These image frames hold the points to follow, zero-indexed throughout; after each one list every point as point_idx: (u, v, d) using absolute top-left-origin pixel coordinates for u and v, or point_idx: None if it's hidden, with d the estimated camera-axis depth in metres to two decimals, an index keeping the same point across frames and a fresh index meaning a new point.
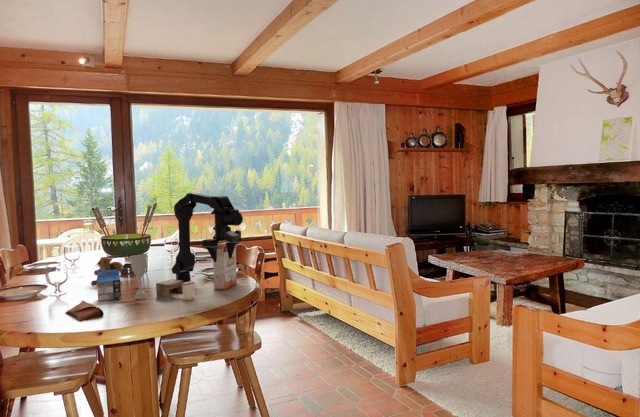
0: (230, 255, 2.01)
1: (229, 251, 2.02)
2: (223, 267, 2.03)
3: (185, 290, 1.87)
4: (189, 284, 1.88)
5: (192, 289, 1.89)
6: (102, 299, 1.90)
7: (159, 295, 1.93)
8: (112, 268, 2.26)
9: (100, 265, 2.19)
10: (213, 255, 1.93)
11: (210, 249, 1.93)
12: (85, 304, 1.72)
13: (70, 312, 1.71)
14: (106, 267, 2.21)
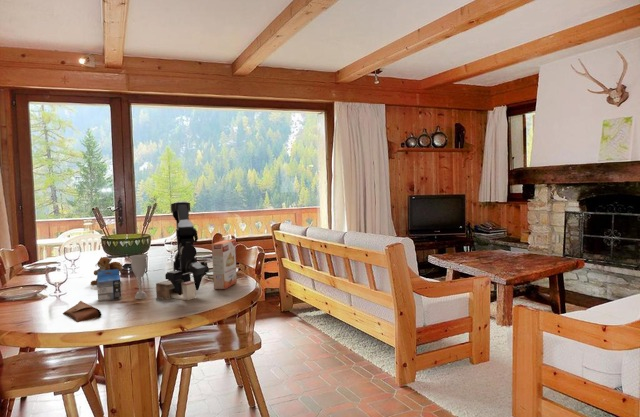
0: (197, 287, 1.93)
1: (196, 282, 1.93)
2: (222, 267, 2.03)
3: (185, 290, 1.87)
4: (189, 284, 1.88)
5: (192, 289, 1.89)
6: (102, 299, 1.90)
7: (159, 295, 1.93)
8: (112, 268, 2.25)
9: (100, 265, 2.19)
10: (177, 288, 1.84)
11: (174, 282, 1.84)
12: (83, 304, 1.71)
13: (68, 313, 1.70)
14: (106, 267, 2.21)
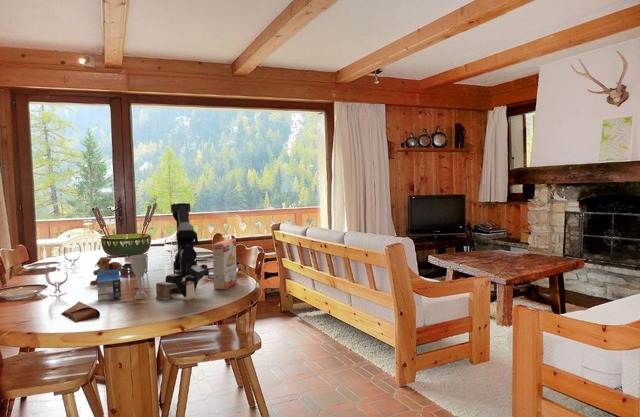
0: None
1: None
2: (223, 267, 2.03)
3: None
4: (189, 284, 1.88)
5: (192, 289, 1.89)
6: (102, 299, 1.90)
7: (159, 295, 1.93)
8: (111, 268, 2.25)
9: (99, 265, 2.19)
10: (182, 290, 1.86)
11: (179, 284, 1.86)
12: (81, 305, 1.71)
13: (66, 313, 1.70)
14: (105, 267, 2.21)
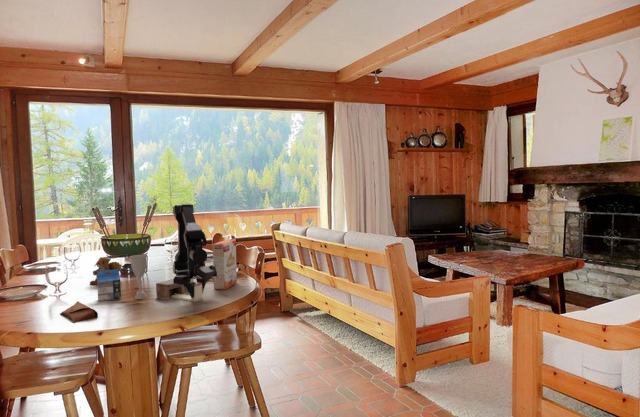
0: None
1: None
2: (223, 267, 2.03)
3: None
4: (197, 285, 1.85)
5: (200, 290, 1.87)
6: (102, 299, 1.90)
7: (159, 295, 1.93)
8: (111, 268, 2.25)
9: (99, 265, 2.19)
10: (190, 291, 1.84)
11: (187, 285, 1.84)
12: (80, 305, 1.71)
13: (64, 313, 1.69)
14: (105, 267, 2.21)
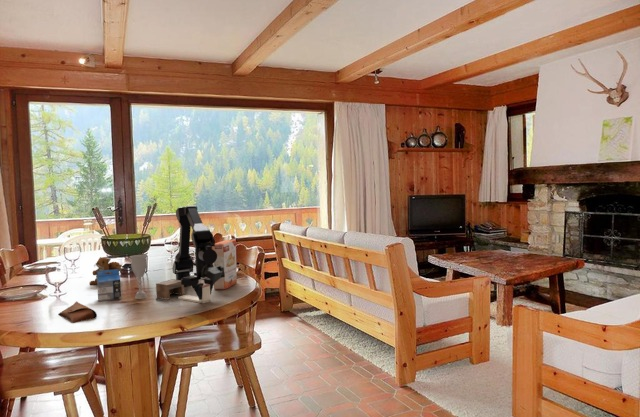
0: None
1: None
2: None
3: None
4: (205, 286, 1.83)
5: (208, 292, 1.84)
6: (102, 299, 1.90)
7: (159, 295, 1.93)
8: (110, 268, 2.25)
9: (98, 265, 2.19)
10: (198, 292, 1.81)
11: (195, 286, 1.81)
12: (78, 305, 1.70)
13: (63, 313, 1.69)
14: (104, 267, 2.21)
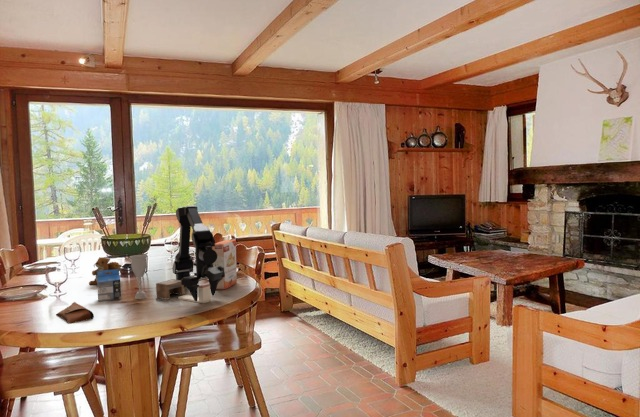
0: (213, 292, 1.88)
1: (212, 287, 1.88)
2: None
3: (201, 293, 1.82)
4: (205, 286, 1.83)
5: (208, 292, 1.84)
6: (102, 299, 1.90)
7: (159, 295, 1.93)
8: (110, 268, 2.25)
9: (98, 265, 2.19)
10: (193, 294, 1.79)
11: (190, 287, 1.79)
12: (76, 306, 1.70)
13: (61, 314, 1.69)
14: (104, 267, 2.21)
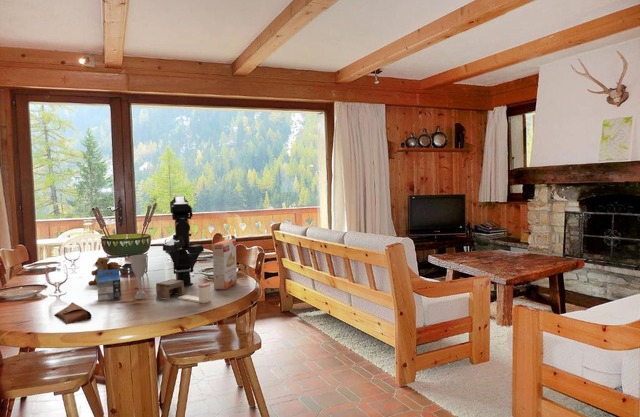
0: None
1: None
2: (223, 267, 2.03)
3: (201, 293, 1.82)
4: (205, 286, 1.83)
5: (208, 292, 1.84)
6: (102, 299, 1.90)
7: (159, 295, 1.93)
8: (109, 268, 2.25)
9: (97, 265, 2.19)
10: None
11: None
12: (74, 306, 1.69)
13: (58, 314, 1.68)
14: (103, 267, 2.21)
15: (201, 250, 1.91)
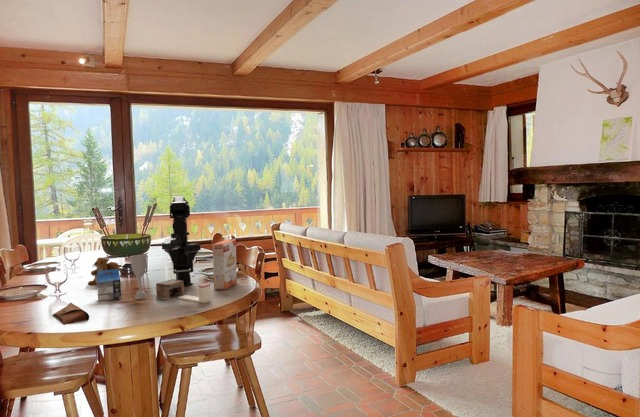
0: None
1: None
2: (223, 267, 2.03)
3: (201, 293, 1.82)
4: (205, 286, 1.83)
5: (208, 292, 1.84)
6: (102, 299, 1.90)
7: (159, 295, 1.93)
8: (109, 268, 2.25)
9: (97, 265, 2.19)
10: None
11: None
12: (72, 307, 1.69)
13: (56, 315, 1.68)
14: (103, 267, 2.21)
15: (198, 249, 1.92)
